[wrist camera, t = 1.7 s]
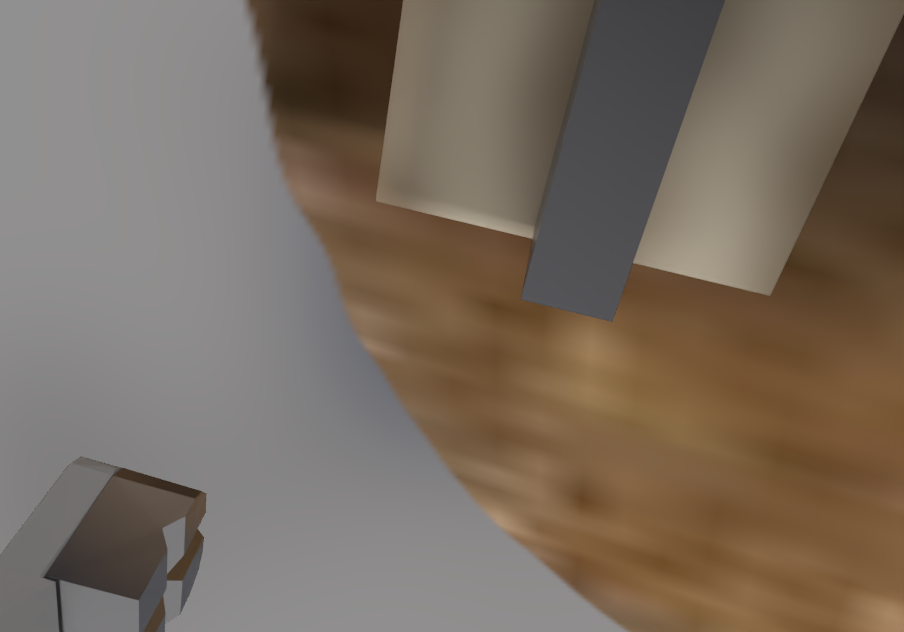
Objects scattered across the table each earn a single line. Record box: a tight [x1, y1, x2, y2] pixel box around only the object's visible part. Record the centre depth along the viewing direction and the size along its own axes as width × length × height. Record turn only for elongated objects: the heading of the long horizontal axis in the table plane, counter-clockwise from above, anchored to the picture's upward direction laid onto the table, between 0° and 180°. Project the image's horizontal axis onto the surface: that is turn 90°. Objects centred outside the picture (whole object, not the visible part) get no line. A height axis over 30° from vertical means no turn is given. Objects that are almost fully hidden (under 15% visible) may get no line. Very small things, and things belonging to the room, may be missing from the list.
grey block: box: [521, 0, 725, 321], centre depth 21 cm, size 12×10×4 cm
